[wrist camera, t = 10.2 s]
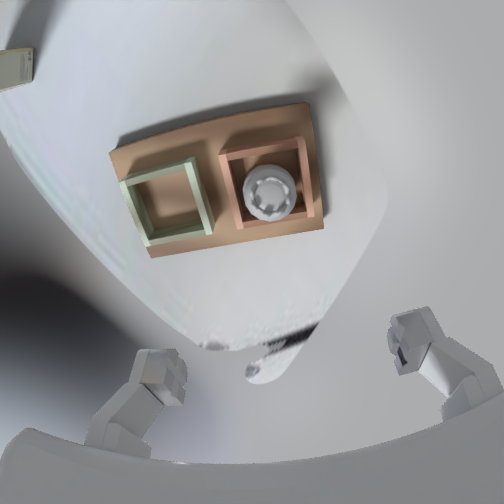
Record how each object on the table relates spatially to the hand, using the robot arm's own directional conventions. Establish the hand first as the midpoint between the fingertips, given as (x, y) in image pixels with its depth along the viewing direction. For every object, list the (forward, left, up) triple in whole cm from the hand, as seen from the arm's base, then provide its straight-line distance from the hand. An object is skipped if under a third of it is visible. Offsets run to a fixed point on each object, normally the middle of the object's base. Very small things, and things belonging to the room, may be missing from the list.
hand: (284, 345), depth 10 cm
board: (0, -4, -19) cm, 19 cm away
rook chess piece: (+1, 0, -17) cm, 17 cm away
